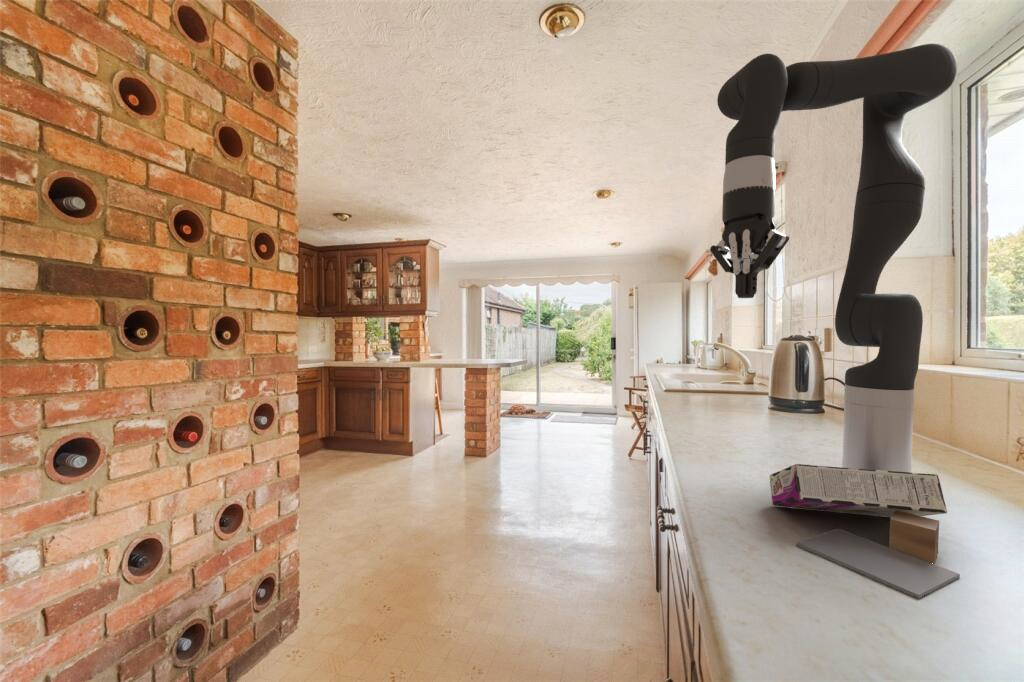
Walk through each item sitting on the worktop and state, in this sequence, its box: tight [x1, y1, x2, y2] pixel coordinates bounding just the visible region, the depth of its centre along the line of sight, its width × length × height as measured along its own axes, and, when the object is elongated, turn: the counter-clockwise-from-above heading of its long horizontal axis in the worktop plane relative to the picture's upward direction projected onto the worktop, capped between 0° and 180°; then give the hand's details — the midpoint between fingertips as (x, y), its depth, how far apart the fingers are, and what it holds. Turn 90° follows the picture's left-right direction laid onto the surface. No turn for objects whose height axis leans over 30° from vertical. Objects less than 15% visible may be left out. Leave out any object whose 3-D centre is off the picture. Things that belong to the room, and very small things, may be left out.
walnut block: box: [888, 511, 940, 565], centre depth 54 cm, size 4×4×4 cm
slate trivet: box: [795, 528, 960, 599], centre depth 52 cm, size 9×12×1 cm
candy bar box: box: [769, 463, 948, 518], centre depth 62 cm, size 11×5×16 cm
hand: (745, 297), depth 73 cm, fingers closed
